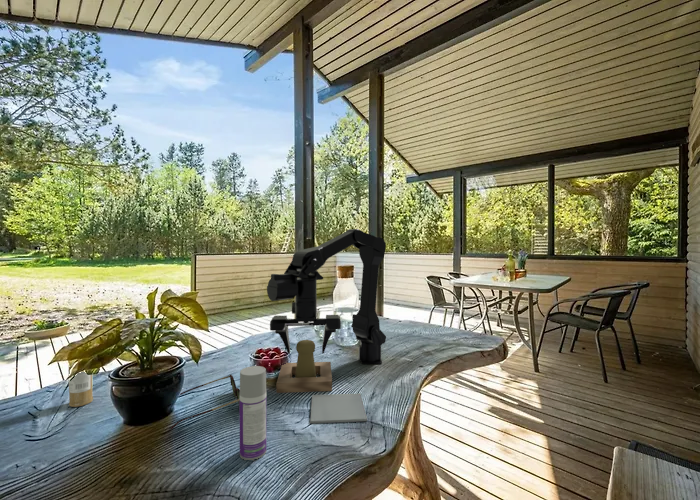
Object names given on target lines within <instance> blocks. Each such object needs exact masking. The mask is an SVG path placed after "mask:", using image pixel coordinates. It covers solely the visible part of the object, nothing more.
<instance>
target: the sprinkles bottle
mask: <svg viewBox="0 0 700 500" xmlns="http://www.w3.org/2000/svg"><path fill="white" fill-rule="evenodd" d="M69 374H70V367H69V366H68V375H69ZM93 382H94V381H93V374H92V375H87V374H86V373H85V372H81V373H78V374H77V375H76V376H75V377H74V378H73V379H72V380H71V381H69V380H68V393H69V394H68V395H69V399H68V400H69V401H68V406H69V407H73V408H79V407H83V406H86V405H89V404H91V403H93V401H94V396H93V386H94V385H93Z"/></svg>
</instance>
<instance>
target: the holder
mask: <svg viewBox="0 0 700 500" xmlns="http://www.w3.org/2000/svg"><path fill="white" fill-rule="evenodd" d="M285 363H286V364H284V365H281V367H280V370H279V374H278V378H277V380H276V384H275V385H276V390H275V391H276V393H277V394H281V393H311V392H332V391H333V376H332V365H331V364H332V363H331V361H314V363H315V370H316V377H302V378H295V377H293V376H295V375H296V367H297V362H285ZM318 375H320V376H318Z"/></svg>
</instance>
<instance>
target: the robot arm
mask: <svg viewBox="0 0 700 500" xmlns="http://www.w3.org/2000/svg"><path fill="white" fill-rule="evenodd" d="M386 244H387V242H386V241H385V240H384V239H383V237H381V236H375V235H373V234H370V233H368V232H366V231H365V232H364V231H363V230H361V229H359V228H353V229H351V228H350V229H347V230H346V231H344V232H343V233H341V234H339V235H336V236H335V237H333V238H331V239H329V240H328V241H325V242H323V243H322V244H320V245H317V246H313V247H308V248H304V249H301V250H298V251H296V252H294V254H292V258H291V259H292V260H291V262H290V263H289V265H288V266H287V268H286V270H285V271H284V272H283V273H272V274H270V278H269V281H268V282H267V286H266V292H267V293H266V294H267V297H268V299H269V300H270V301H271V302H276V301H282V300H283V301H284V300H291V299H294V298H295V301H294V302H293V301H292V303H291V313H292V314H293V315H295V318H288V316H287V315H273V317H272V318H271V319H270V321H269V322H270V323H269V330H270V331H273V332H274V334H278V335H279V337H280V338H281V340H282V342H283V345H284V347H285V350H286V352H287V355H290V354H291V345H290V343H291V342H290V335H289V327H303V326H304V327H307V326H311V327H312V326H316V327H317V326H324V330H323V331H324V332H323V338H322V347H321V353H322V354H324V353H325V350H326V348H327V345H328V342H329V340H330V338H331V335H332V334H333V333H337V330H340V329H341V326H342V325H341V323H342V322H341V316H339V314H326V315H325V318H323V317H322V318H320V317H319V318H318V308H317V294H318V293H317V281H320V280H324V276H323V275H321V274H320V272H319V271H318V270H320V269H321V267H323V266H325V263H326V262H327V261H328V259H330V258H332V257H333V256H335V255H337V254H338V253H341V252H342V251H344V250H345V249H348V248H349V247H351V246H353V247H354V248H356V249H358V251H359V258H360V260H361V262H362V275H361V276H362V277H361V288H360V302H359V309H358V311H357V313H356V314H352V316H351V317H352V320H351V321H352V322H351V326H350V327H351V328H352V332H353V333H354V335H355V339H356V340H357V341H360V344H358V360H359V361H360V363H361V365H371V364H372V365H374V364H375V365H376V364H382V363H383V360H382V346H383V344H385V343H386V339H387V335H386V334H385V333H384V332H383V330H381V327H380V326H381V325H380V319H379V316H378V314H377V311H376V305H377V293H378V280H379V279H378V278H379V267H380V264H381V263H382V261H383V260H384V258H385V254H386V251H387V250H386V249H387V245H386Z"/></svg>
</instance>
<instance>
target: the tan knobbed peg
mask: <svg viewBox="0 0 700 500" xmlns="http://www.w3.org/2000/svg"><path fill="white" fill-rule="evenodd" d="M295 349H296V352H297V360H296V363H297V367H296V375H294V376H295V377H294V378H302V377H317V375H316V370H315V363H314V362H315V358H314V357H315V356H314V352H315V351H316V343H315V342H314V341H313V340H311V339H302V340H299V341H298V342H297V343H296V347H295Z"/></svg>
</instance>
